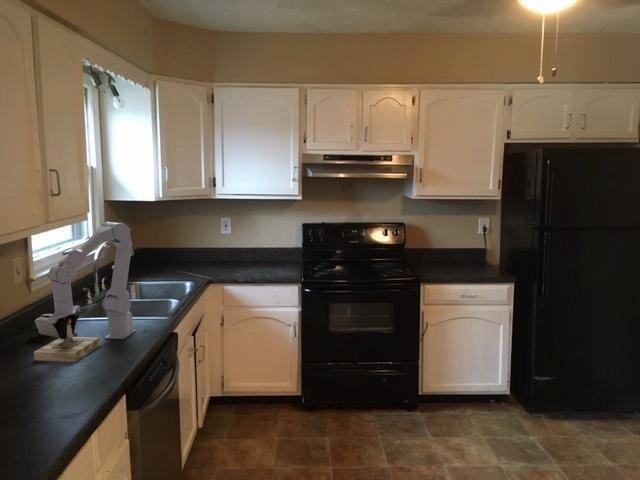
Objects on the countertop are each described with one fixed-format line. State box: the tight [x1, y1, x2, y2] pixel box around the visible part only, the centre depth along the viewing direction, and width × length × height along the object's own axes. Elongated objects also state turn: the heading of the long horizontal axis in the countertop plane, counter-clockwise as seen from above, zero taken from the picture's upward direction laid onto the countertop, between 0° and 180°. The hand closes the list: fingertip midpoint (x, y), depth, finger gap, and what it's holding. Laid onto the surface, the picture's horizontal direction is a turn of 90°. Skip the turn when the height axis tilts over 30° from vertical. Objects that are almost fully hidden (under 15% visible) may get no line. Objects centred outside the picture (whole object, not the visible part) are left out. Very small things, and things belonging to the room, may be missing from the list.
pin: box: [63, 318, 74, 344], centre depth 174 cm, size 4×4×8 cm
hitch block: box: [33, 336, 101, 363], centre depth 175 cm, size 15×15×3 cm
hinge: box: [34, 313, 79, 339], centre depth 192 cm, size 17×5×10 cm, turn 63°
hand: (67, 336), depth 174 cm, fingers closed on pin, 3 cm apart
